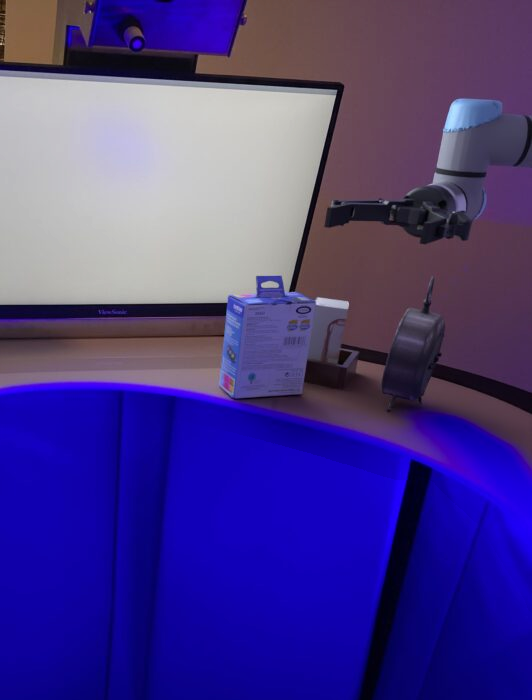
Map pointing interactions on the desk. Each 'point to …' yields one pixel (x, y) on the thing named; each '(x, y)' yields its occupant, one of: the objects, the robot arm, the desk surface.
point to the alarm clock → (413, 353)
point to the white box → (327, 329)
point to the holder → (332, 370)
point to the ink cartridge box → (266, 341)
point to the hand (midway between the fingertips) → (374, 225)
